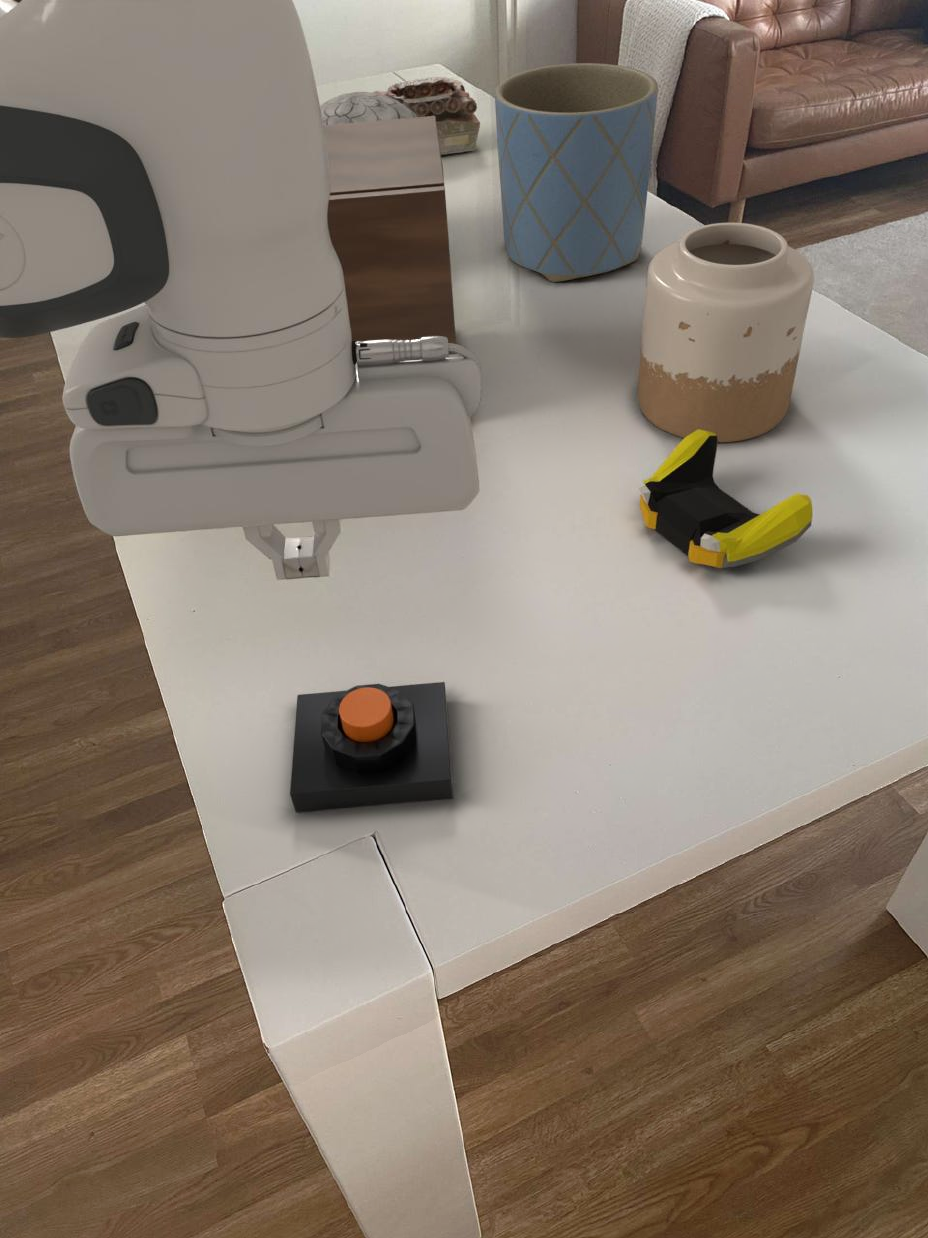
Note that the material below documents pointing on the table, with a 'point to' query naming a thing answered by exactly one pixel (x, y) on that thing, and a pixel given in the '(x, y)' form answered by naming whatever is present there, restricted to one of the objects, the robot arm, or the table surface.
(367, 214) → the cupboard door
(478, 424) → the table surface
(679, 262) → the vase
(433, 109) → the tank model
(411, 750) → the control block
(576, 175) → the planter
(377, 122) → the cupboard
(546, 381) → the table surface
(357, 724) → the button
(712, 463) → the gaming controller
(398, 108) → the decorative sphere
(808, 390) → the table surface
